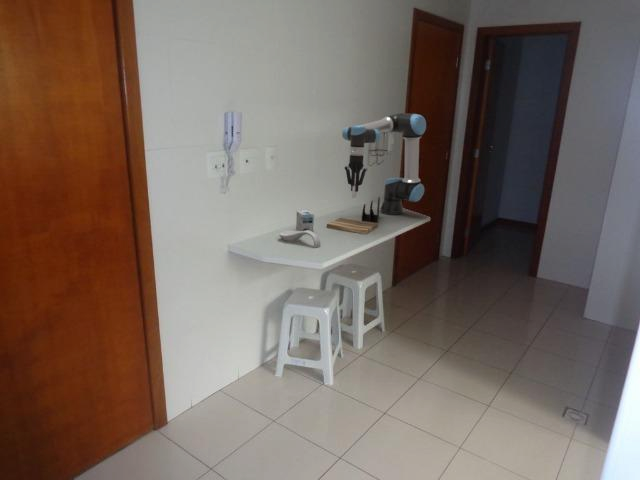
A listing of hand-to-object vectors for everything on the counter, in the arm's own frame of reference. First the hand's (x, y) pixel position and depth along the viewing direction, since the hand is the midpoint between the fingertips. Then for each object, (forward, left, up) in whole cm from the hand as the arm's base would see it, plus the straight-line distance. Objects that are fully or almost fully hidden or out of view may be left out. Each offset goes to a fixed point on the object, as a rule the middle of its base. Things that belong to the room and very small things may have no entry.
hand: (354, 197), depth 261 cm
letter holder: (-28, +1, -19) cm, 34 cm away
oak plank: (+1, -1, -18) cm, 19 cm away
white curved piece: (+39, -13, -19) cm, 46 cm away
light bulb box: (+19, -20, -19) cm, 34 cm away
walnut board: (-10, -1, -19) cm, 21 cm away
